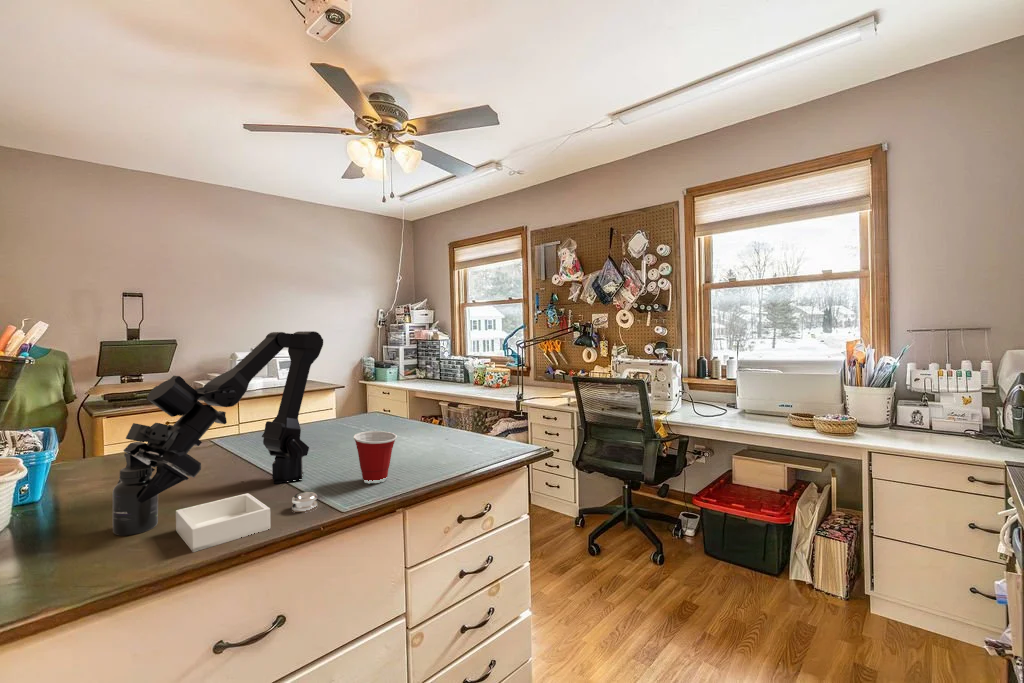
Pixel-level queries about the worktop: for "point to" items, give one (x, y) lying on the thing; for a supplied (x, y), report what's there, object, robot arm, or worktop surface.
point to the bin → (222, 521)
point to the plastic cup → (374, 453)
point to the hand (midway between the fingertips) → (127, 497)
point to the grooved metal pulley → (304, 501)
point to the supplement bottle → (133, 502)
